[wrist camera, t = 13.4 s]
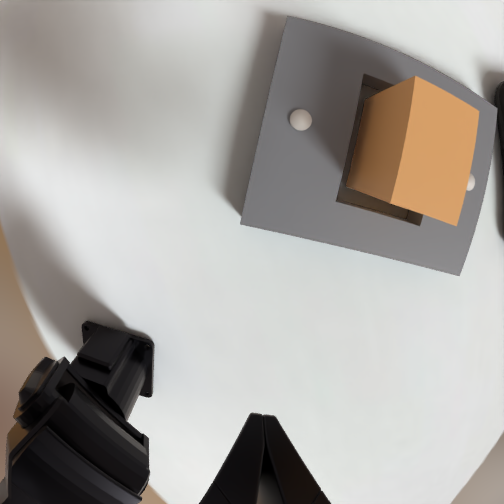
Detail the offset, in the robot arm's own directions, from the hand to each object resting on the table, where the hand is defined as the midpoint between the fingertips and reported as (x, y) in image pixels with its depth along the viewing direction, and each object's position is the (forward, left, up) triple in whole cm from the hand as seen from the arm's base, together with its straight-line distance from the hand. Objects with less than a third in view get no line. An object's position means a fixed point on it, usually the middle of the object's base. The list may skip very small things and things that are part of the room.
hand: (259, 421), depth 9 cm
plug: (+10, -6, -12) cm, 17 cm away
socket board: (+10, -6, -12) cm, 17 cm away
